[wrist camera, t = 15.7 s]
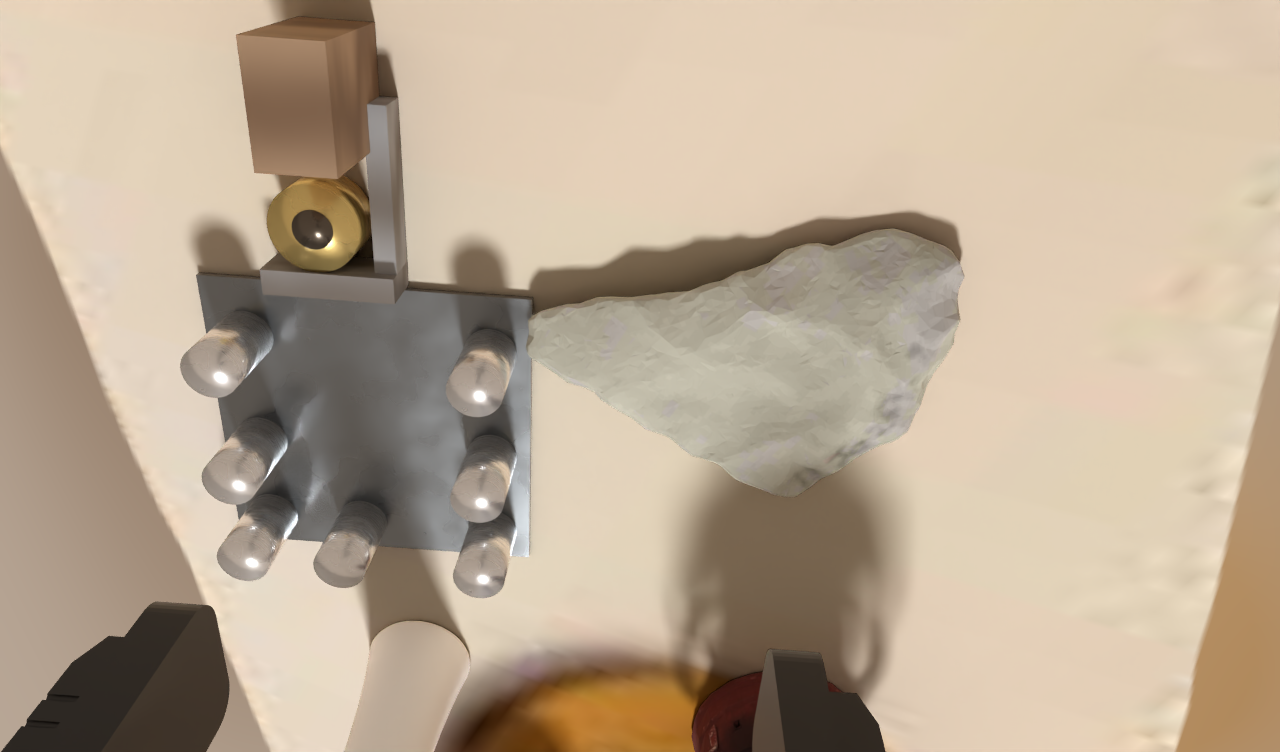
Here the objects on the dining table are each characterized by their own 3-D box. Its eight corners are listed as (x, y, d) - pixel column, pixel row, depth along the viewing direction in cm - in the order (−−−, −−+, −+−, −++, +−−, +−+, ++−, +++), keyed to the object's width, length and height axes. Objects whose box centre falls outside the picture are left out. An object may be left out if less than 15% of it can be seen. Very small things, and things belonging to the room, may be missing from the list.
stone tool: (970, 230, 43) (549, 159, 40) (1006, 262, 39) (546, 187, 36) (875, 483, 49) (511, 438, 47) (899, 530, 46) (505, 484, 43)
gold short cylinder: (281, 169, 41) (258, 183, 38) (368, 171, 41) (351, 186, 38) (295, 253, 42) (274, 271, 40) (379, 255, 42) (363, 274, 40)
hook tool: (250, 12, 37) (180, 30, 32) (393, 23, 37) (347, 43, 32) (283, 275, 43) (228, 327, 38) (408, 284, 43) (370, 338, 38)
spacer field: (199, 272, 43) (153, 308, 39) (532, 297, 43) (518, 335, 39) (244, 532, 50) (208, 583, 46) (529, 553, 50) (517, 606, 46)
